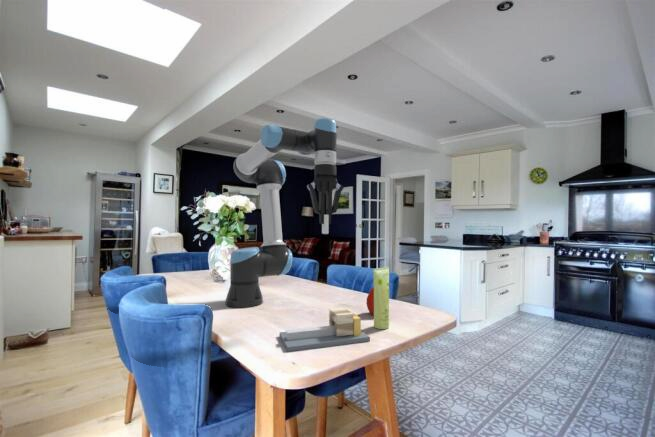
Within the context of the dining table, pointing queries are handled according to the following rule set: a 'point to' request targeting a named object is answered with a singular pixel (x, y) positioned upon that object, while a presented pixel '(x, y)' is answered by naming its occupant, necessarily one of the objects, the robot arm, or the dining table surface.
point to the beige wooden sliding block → (341, 321)
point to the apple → (370, 301)
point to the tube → (381, 298)
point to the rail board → (321, 337)
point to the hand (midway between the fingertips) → (325, 233)
